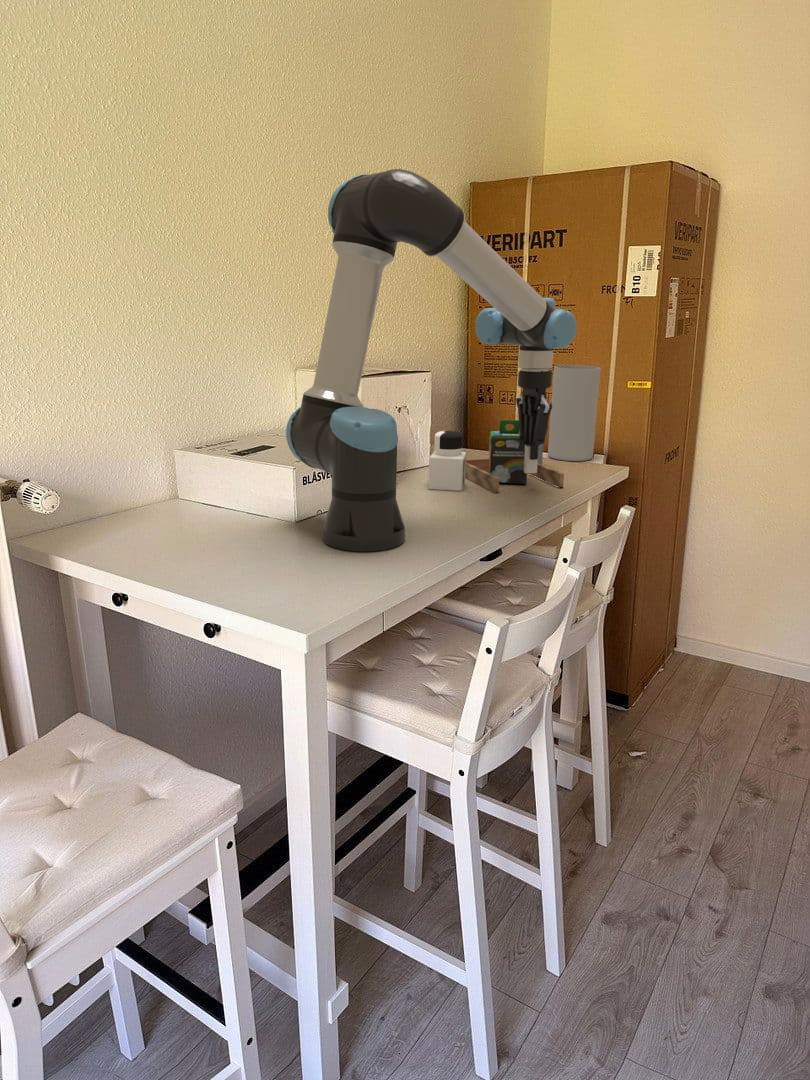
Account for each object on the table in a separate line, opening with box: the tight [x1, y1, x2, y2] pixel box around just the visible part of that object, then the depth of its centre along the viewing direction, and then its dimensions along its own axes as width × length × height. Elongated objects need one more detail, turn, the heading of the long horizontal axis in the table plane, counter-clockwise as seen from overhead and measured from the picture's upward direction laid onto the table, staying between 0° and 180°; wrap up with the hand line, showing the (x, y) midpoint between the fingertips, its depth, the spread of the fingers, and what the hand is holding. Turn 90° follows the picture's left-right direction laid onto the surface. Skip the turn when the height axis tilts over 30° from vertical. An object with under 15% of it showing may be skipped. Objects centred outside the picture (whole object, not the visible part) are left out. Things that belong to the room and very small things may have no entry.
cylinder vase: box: [547, 364, 602, 462], centre depth 216 cm, size 12×12×25 cm
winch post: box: [537, 424, 549, 465], centre depth 204 cm, size 5×5×16 cm
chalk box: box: [488, 419, 528, 485], centre depth 189 cm, size 9×9×15 cm
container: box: [428, 430, 467, 492], centre depth 182 cm, size 8×8×13 cm
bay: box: [465, 457, 565, 493], centre depth 190 cm, size 21×18×4 cm
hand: (530, 472), depth 182 cm, fingers closed
